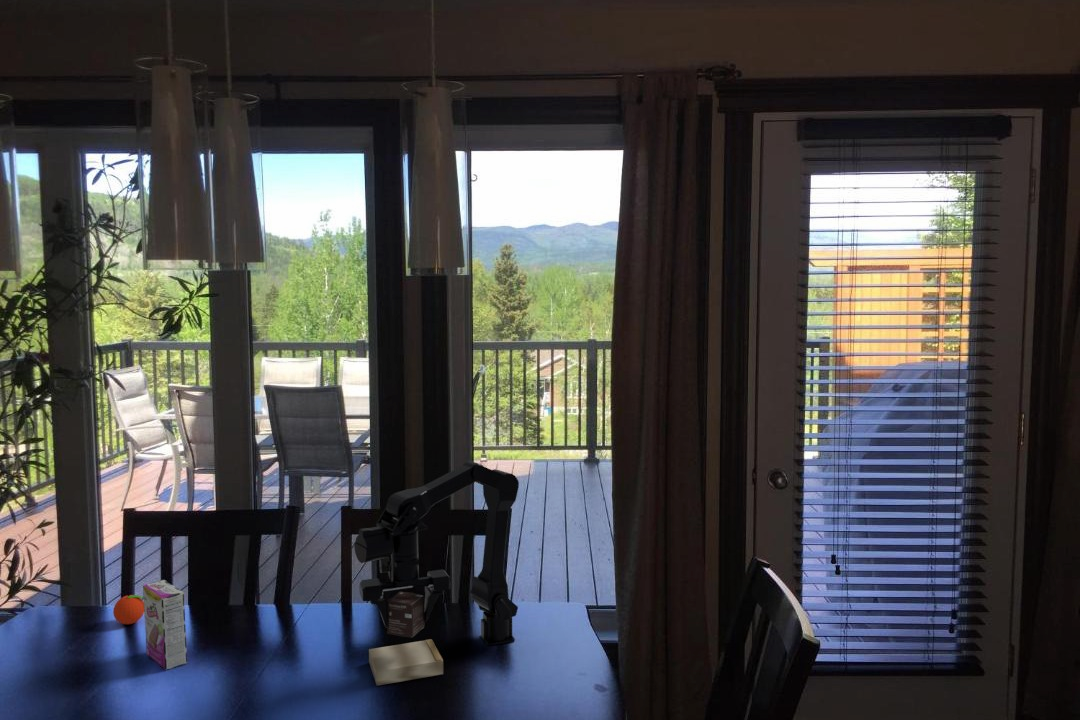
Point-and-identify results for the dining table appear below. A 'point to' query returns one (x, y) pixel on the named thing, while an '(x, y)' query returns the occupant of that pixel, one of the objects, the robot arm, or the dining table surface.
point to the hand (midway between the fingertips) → (406, 623)
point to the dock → (405, 662)
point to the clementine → (129, 609)
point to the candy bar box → (165, 624)
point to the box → (405, 614)
